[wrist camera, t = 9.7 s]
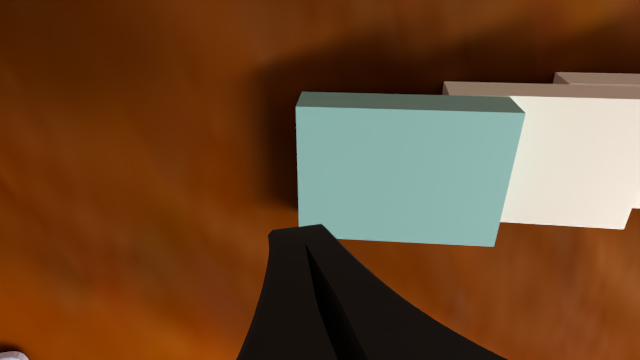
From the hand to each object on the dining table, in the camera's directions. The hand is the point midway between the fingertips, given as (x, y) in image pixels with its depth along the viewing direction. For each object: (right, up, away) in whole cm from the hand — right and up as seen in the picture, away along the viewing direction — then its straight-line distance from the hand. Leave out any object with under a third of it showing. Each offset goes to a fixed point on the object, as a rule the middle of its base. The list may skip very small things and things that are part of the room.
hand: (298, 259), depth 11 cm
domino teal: (0, +2, +5) cm, 5 cm away
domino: (+5, +3, +6) cm, 8 cm away
